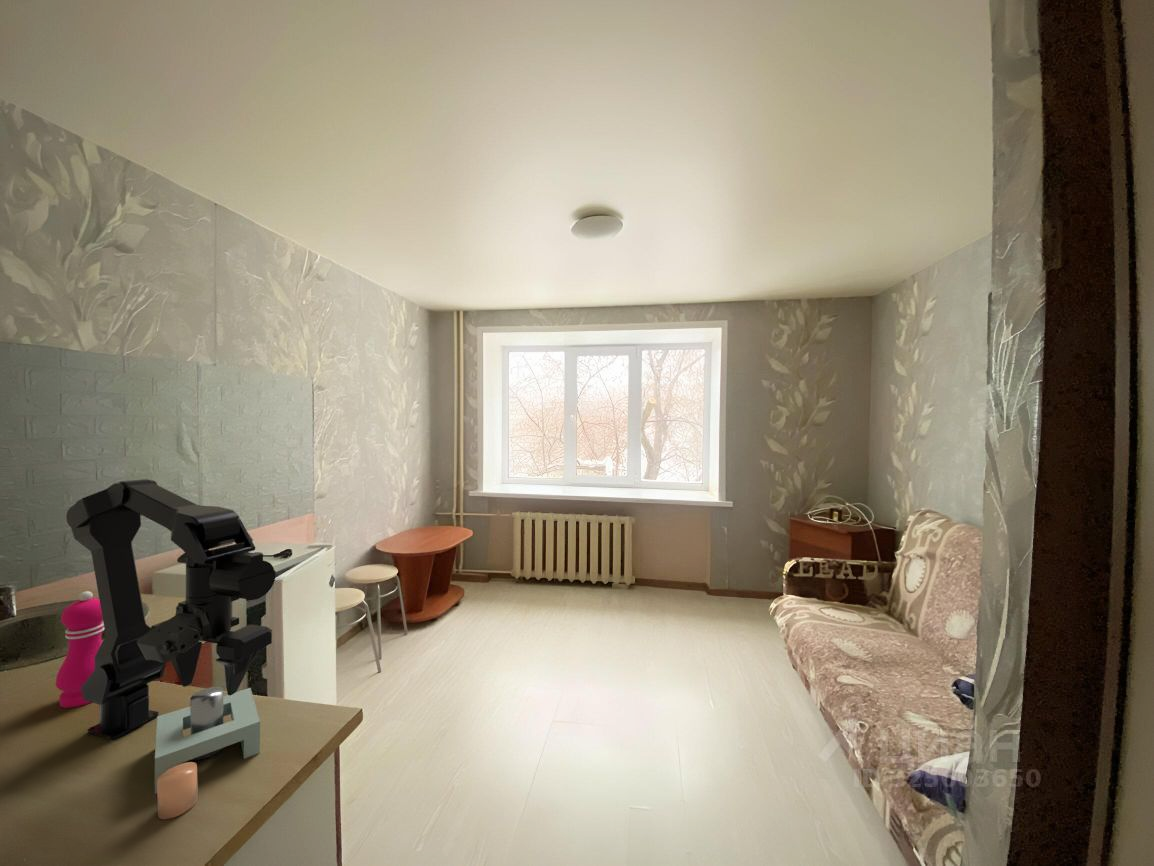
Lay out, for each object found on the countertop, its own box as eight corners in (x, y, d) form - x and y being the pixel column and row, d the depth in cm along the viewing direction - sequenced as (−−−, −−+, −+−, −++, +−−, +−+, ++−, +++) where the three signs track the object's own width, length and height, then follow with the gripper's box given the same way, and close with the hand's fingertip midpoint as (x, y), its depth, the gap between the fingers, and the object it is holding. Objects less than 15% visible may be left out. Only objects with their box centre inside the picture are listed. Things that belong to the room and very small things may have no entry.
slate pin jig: (157, 747, 71) (157, 716, 70) (250, 715, 79) (250, 687, 79) (154, 794, 62) (154, 758, 62) (259, 752, 70) (260, 721, 70)
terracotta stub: (149, 821, 58) (148, 786, 58) (174, 795, 62) (173, 763, 62) (182, 817, 58) (181, 783, 58) (205, 792, 62) (204, 760, 62)
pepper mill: (74, 712, 79) (75, 600, 79) (44, 706, 80) (45, 596, 80) (123, 689, 86) (123, 586, 86) (94, 684, 87) (95, 583, 87)
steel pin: (183, 757, 69) (183, 699, 69) (210, 739, 73) (210, 685, 72) (203, 761, 68) (203, 703, 68) (230, 743, 72) (229, 688, 71)
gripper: (102, 604, 64) (101, 711, 64) (200, 619, 60) (200, 733, 60) (186, 579, 75) (185, 671, 75) (275, 590, 71) (274, 687, 71)
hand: (209, 689), depth 70 cm, fingers open, 9 cm apart
